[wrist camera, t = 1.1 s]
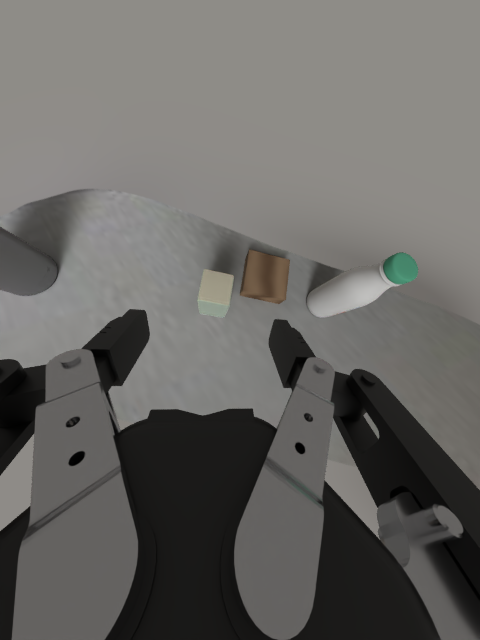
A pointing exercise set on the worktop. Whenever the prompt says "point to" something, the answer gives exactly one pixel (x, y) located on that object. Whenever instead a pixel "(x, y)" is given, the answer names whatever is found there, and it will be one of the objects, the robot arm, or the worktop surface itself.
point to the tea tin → (215, 293)
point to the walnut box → (265, 277)
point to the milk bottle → (361, 285)
